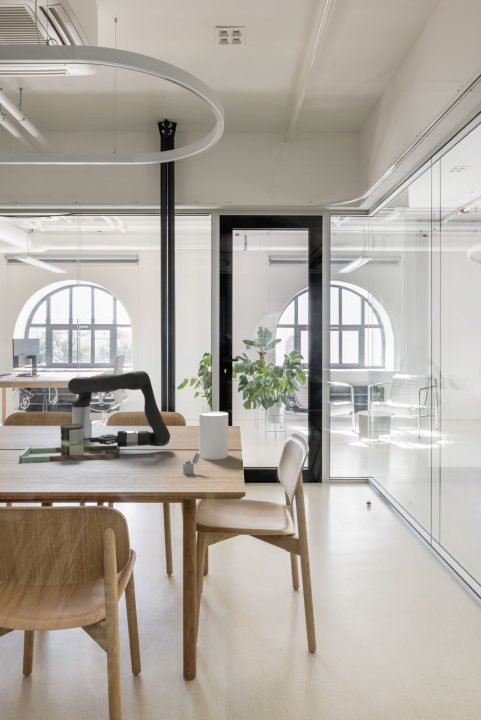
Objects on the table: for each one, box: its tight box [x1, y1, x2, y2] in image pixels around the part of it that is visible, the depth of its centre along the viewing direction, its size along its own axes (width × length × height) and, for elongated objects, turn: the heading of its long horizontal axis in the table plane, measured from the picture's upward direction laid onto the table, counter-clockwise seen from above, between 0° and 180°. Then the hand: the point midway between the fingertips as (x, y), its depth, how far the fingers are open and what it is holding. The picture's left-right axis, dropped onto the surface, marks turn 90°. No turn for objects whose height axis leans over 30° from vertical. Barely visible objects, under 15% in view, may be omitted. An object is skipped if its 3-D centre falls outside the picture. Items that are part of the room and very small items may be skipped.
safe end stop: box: [18, 445, 57, 463], centre depth 232 cm, size 13×18×3 cm
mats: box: [88, 450, 116, 454], centre depth 237 cm, size 12×14×1 cm
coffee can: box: [60, 423, 85, 456], centre depth 234 cm, size 10×10×14 cm
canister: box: [198, 410, 229, 461], centre depth 235 cm, size 14×14×20 cm
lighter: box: [182, 452, 200, 476], centre depth 206 cm, size 7×2×8 cm, turn 118°
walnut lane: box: [18, 444, 121, 463], centre depth 235 cm, size 42×18×2 cm, turn 102°
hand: (90, 440), depth 236 cm, fingers closed
